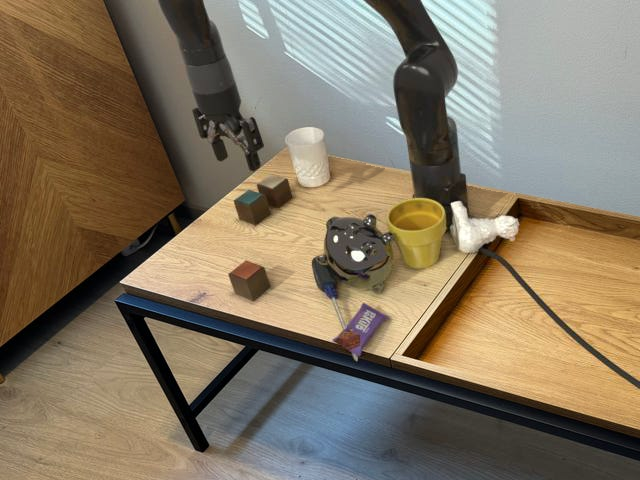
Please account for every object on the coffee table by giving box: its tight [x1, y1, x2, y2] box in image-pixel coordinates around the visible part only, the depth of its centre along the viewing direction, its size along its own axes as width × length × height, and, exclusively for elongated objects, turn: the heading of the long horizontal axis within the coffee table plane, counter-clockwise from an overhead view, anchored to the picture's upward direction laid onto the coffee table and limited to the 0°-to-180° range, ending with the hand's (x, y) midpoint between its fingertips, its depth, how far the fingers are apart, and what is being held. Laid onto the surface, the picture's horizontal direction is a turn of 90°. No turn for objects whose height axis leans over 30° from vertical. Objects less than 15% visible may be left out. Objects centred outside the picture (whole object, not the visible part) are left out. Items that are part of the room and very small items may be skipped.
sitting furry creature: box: [449, 201, 520, 254], centre depth 147 cm, size 10×9×12 cm
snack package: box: [332, 302, 389, 357], centre depth 131 cm, size 12×2×5 cm
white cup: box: [284, 126, 331, 188], centre depth 166 cm, size 8×8×10 cm
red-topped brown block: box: [228, 259, 271, 302], centre depth 142 cm, size 4×4×5 cm
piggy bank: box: [315, 213, 396, 295], centre depth 139 cm, size 11×15×12 cm
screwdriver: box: [311, 256, 359, 362], centre depth 136 cm, size 26×4×4 cm
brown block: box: [256, 173, 294, 210], centre depth 163 cm, size 4×4×5 cm
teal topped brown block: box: [233, 189, 272, 226], centre depth 159 cm, size 4×4×5 cm
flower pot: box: [386, 197, 447, 269], centre depth 144 cm, size 10×10×10 cm
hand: (239, 164), depth 151 cm, fingers open, 8 cm apart
